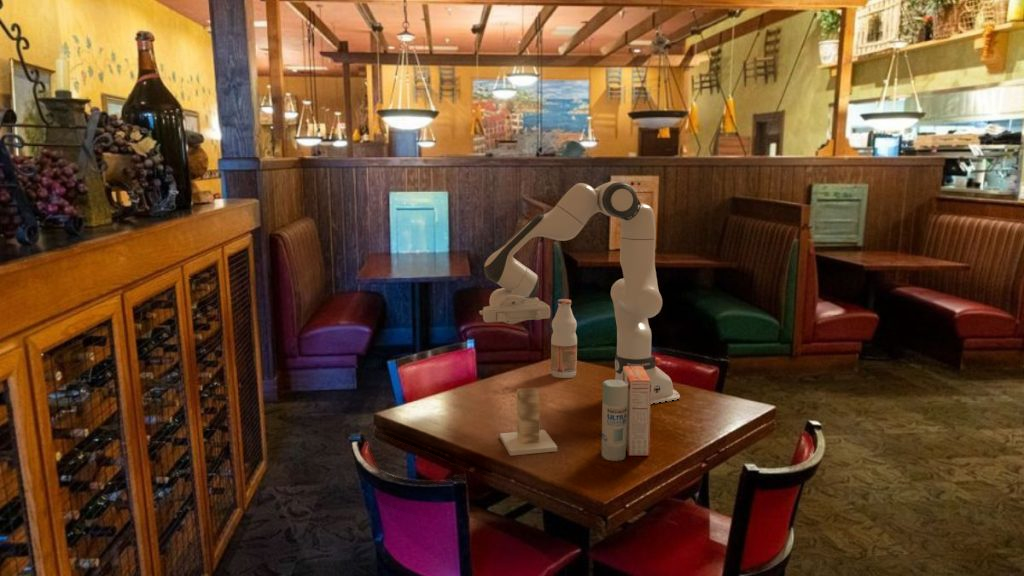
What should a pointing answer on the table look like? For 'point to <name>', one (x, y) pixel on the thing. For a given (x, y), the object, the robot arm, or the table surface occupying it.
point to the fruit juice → (564, 342)
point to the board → (518, 449)
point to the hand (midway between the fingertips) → (522, 318)
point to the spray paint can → (614, 419)
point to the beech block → (528, 415)
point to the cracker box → (637, 410)
